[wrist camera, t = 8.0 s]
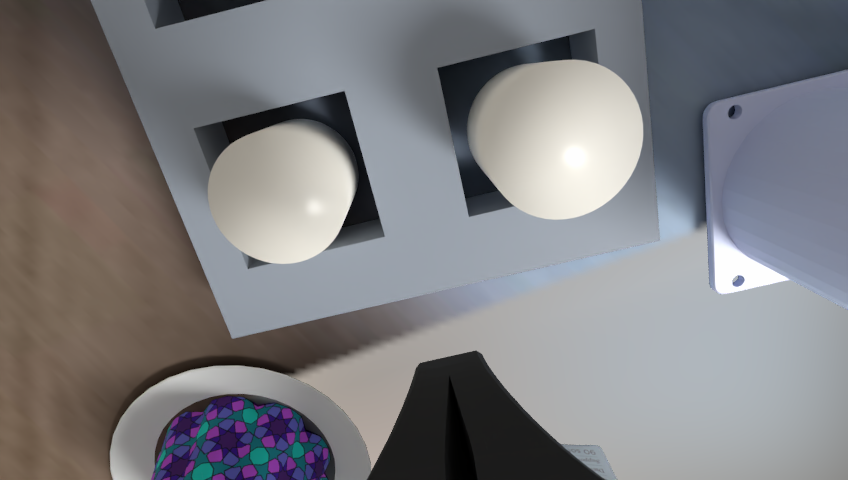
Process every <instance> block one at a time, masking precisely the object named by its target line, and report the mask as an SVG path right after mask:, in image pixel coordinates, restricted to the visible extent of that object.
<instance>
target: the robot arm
mask: <svg viewBox="0 0 848 480" xmlns="http://www.w3.org/2000/svg"><path fill="white" fill-rule="evenodd" d="M731 106H734V107H735V113H734V115H733V116H732V117H730V118H729V116H728V111H729V109H730V108H731ZM703 140H704V165H705V189H706V214H707V236H708V238H707V239H708V263H709V284H710V287H711V288H712V289H713V290H714V291H716V292H717V293H720V294H728V293H732V292H737V291H741V290H746V289H750V288H755V287H759V286H764V285H768V284H773V283H777V282H782V281H786V280H792V281H794V282H796V283H798V284H800V285H801V286H803V287H805V288H807V289H809V290H811V291H813V292H814V293H816V294H818V295H820V296H822V297H824V298H826V299H828V300H830V301H832V302H833V303H835V304H837V305H839V306H841V307H843V308H845V309H847V310H848V69H847V70H843V71H839V72H835V73H831V74H826V75H822V76H818V77H814V78H810V79H806V80H801V81H797V82H793V83H789V84H785V85H780V86H776V87H772V88H768V89H764V90H760V91H755V92H751V93H747V94H743V95H739V96H735V97H730V98H726V99H722V100H718V101H715V102H712V103H710V104H709V105H708V106H707V107H706V108H705V110H704V112H703ZM736 276H738V279H737V280H736V281H735V282H733V283H732V280H733V279H734V277H736ZM367 480H605V479H604V478H602V477H601V476H600V475H598V474H597V473H596V472H594V471H593V470H592V469H590V468H589V467H588V466H586V465H585V464H584V463H583V462H581V461H580V460H579V459H578V458H576V457H575V456H574V455H573V454H571V453H570V452H569V451H568V450H567V449H565V448H564V447H563V446H562V445H561V444H560V443H558V442H557V441H556V440H555V439H554V438H553V437H552V436H550V434H548V433H547V432H546V431H545V430H544V429H543V428H542V427H541V426H540V425H539V424H538V423H537V422H536V421H535V420H534V419H533V418H532V417H531V416H530V415H529V414H528V413H527V412H526V411H525V410H524V409H523V408H522V407H521V406H520V405H519V403H518V402H517V401H516V400H515V399H514V398H513V397H512V396H511V395H510V393H509V392H508V391H507V390H506V389H505V388H504V386H503V385H502V384H501V383H500V381H499V380H498V379H497V378H496V376H495V375H494V373H493V372H492V371H491V369H490V368H489V366H488V365H487V363H486V361H485V359H484V358H483V355H482V354H481V353H479V352H477V351H472V352H468V353H463V354H459V355H454V356H450V357H446V358H441V359H436V360H432V361H427V362H423V363H420V364H419V365H418V367H417V368H416V371H415V374H414V377H413V380H412V383H411V386H410V389H409V392H408V394H407V397H406V399H405V402H404V405H403V407H402V409H401V412H400V414H399V416H398V418H397V421H396V423H395V425H394V428H393V430H392V432H391V434H390V436H389V438H388V441H387V442H386V444H385V446H384V448H383V450H382V452H381V454H380V456H379V458H378V460H377V462H376V463H375V465H374V468H373V469H372V471H371V473H370V475H369V476H368V478H367Z"/></svg>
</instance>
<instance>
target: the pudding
mask: <svg viewBox="0 0 848 480" xmlns="http://www.w3.org/2000/svg"><path fill="white" fill-rule="evenodd" d="M225 394H249V395H253V396H250V397H249V398H248V399H245V398H244V397H233V396H225V397H222V398H218V399H215V400H212V401H211V403H210V404H209V405H208V407H207V408H206V409H205V411H204V412H185V413H183V414H182V415H180V416H178V417H177V418H175V419H174V420H173V422H172V423H171V425H170V427H169V428H168V430H167V433H166V437H165V440H164V443H163V446H162V450H161V452H160V453H159V455H158V459H157V462H156V465H155V449H156V445H157V440H158V438H159V436H160V434H161V432H162V430H163V428H164V427H165V426H166V425H167V423H168V422H169V421H170V420H171V418H173V417H174V416H175V415H176V414H177V413H179V412H180V411H181V410H182V409H184V408H186V407H188V406H189V405H191V404H193V403H195V402H197V401H200V400H203V399H206V398H209V397H213V396H219V395H225ZM110 471H111V474H112V478H113V480H367V478H368V476H369V475H370V473H371V462H370V458H369V455H368V451H367V447H366V445H365V442H364V441H363V439H362V437H361V435H360V433H359V431H358V429H357V427H356V426H355V425H354V424H353V422H352V421H351V420H350V418H349V417H348V416H347V414H346V413H345V412H344V411H343V410H342V409H341V408H340V407H339V406H337V405H336V404H335V403H334V402H333V401H332V400H331V399H330V398H329V397H327V396H325V395H324V394H322V393H321V392H319V391H318V390H316V389H315V388H313V387H311V386H310V385H308V384H306V383H304V382H301V381H299V380H297V379H295V378H292V377H290V376H288V375H285V374H281V373H277V372H274V371H270V370H267V369H263V368H255V367H247V366H239V365H236V366H211V367H205V368H199V369H194V370H189V371H186V372H183V373H180V374H177V375H175V376H172V377H169V378H167V379H165V380H163V381H161V382H160V383H158V384H156V385H154V386H152V387H151V388H149V389H148V390H147V391H145V392H144V393H143V394H142V395H141V396H139V397H138V398H137V399H136V400H135V401H134V402H133V403H132V404H131V405H130V407H129V408H128V409H127V410H126V412H125V413H124V414H123V416H122V417H121V419H120V421H119V423H118V425H117V427H116V430H115V432H114V434H113V438H112V443H111V449H110Z"/></svg>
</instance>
